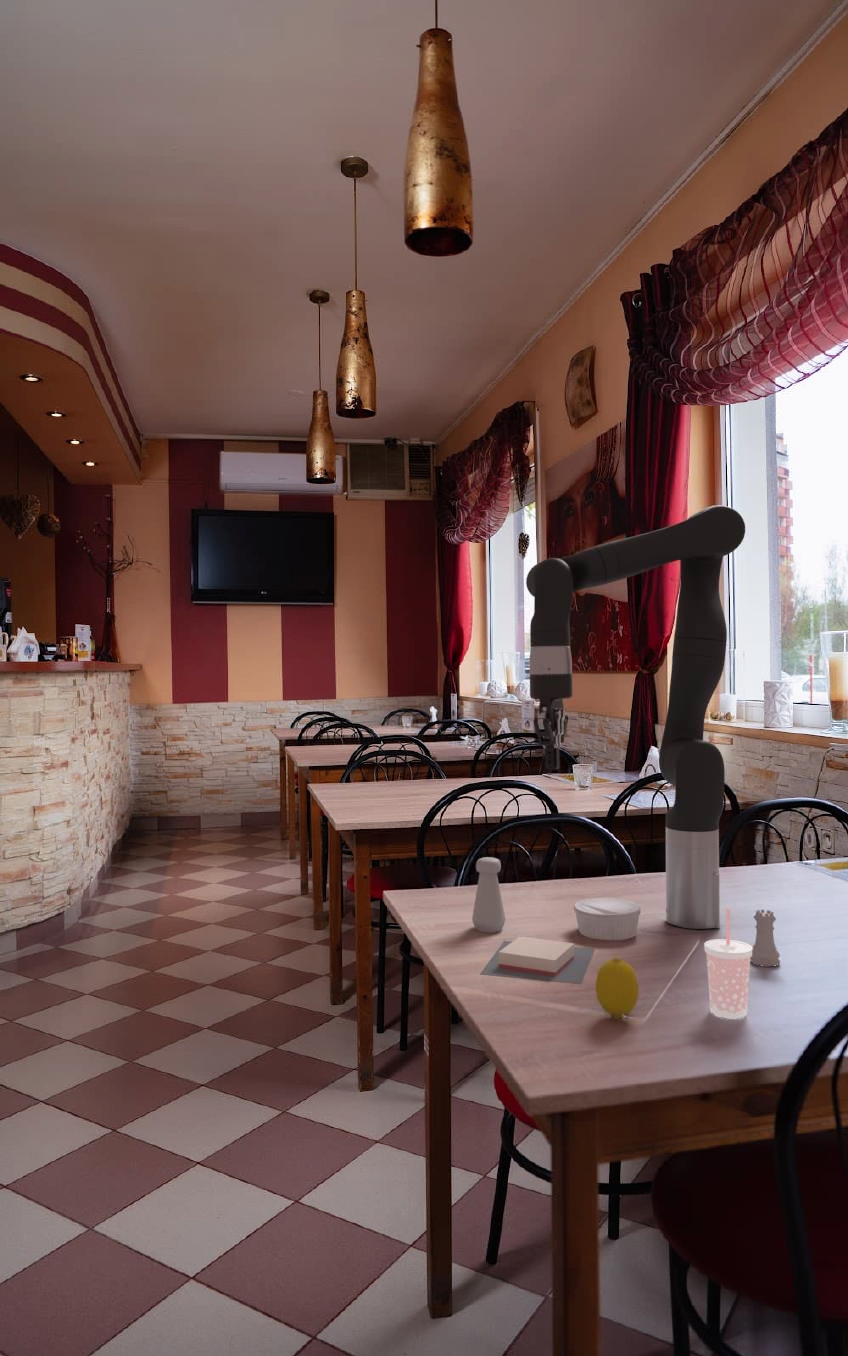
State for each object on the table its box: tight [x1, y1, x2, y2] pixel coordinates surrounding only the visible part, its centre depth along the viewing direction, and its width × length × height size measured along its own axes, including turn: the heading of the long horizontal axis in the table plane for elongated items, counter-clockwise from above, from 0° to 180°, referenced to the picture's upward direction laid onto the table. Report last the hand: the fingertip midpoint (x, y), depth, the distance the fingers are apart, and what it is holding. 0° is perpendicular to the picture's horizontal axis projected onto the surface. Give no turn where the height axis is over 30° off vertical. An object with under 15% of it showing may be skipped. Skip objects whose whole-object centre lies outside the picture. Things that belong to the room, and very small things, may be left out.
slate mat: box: [479, 940, 595, 985], centre depth 139 cm, size 15×17×1 cm
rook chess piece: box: [750, 909, 781, 967], centre depth 139 cm, size 4×4×8 cm
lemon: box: [595, 957, 640, 1020], centre depth 117 cm, size 6×6×8 cm
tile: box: [499, 935, 575, 976], centre depth 137 cm, size 2×9×9 cm
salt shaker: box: [471, 856, 506, 934], centre depth 156 cm, size 6×6×13 cm
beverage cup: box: [703, 907, 754, 1019], centre depth 118 cm, size 6×6×14 cm
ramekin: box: [573, 897, 641, 941], centre depth 154 cm, size 11×11×5 cm
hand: (552, 768), depth 159 cm, fingers closed
